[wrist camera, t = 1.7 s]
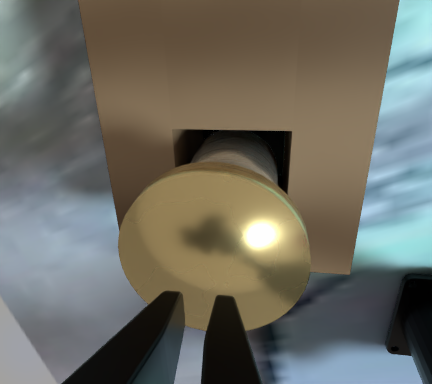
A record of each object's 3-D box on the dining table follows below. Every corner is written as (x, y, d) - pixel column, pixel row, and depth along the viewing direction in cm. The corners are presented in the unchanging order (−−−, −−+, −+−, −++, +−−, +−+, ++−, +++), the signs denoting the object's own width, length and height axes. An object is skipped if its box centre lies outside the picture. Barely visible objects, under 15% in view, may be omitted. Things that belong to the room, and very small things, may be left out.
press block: (330, 205, 20) (349, 274, 15) (161, 198, 22) (124, 258, 16) (397, -298, 12) (500, -557, 6) (111, -256, 13) (-1, -437, 8)
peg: (292, 224, 16) (302, 340, 10) (180, 218, 17) (131, 323, 11) (301, 109, 14) (321, 177, 8) (170, 108, 14) (103, 170, 9)
